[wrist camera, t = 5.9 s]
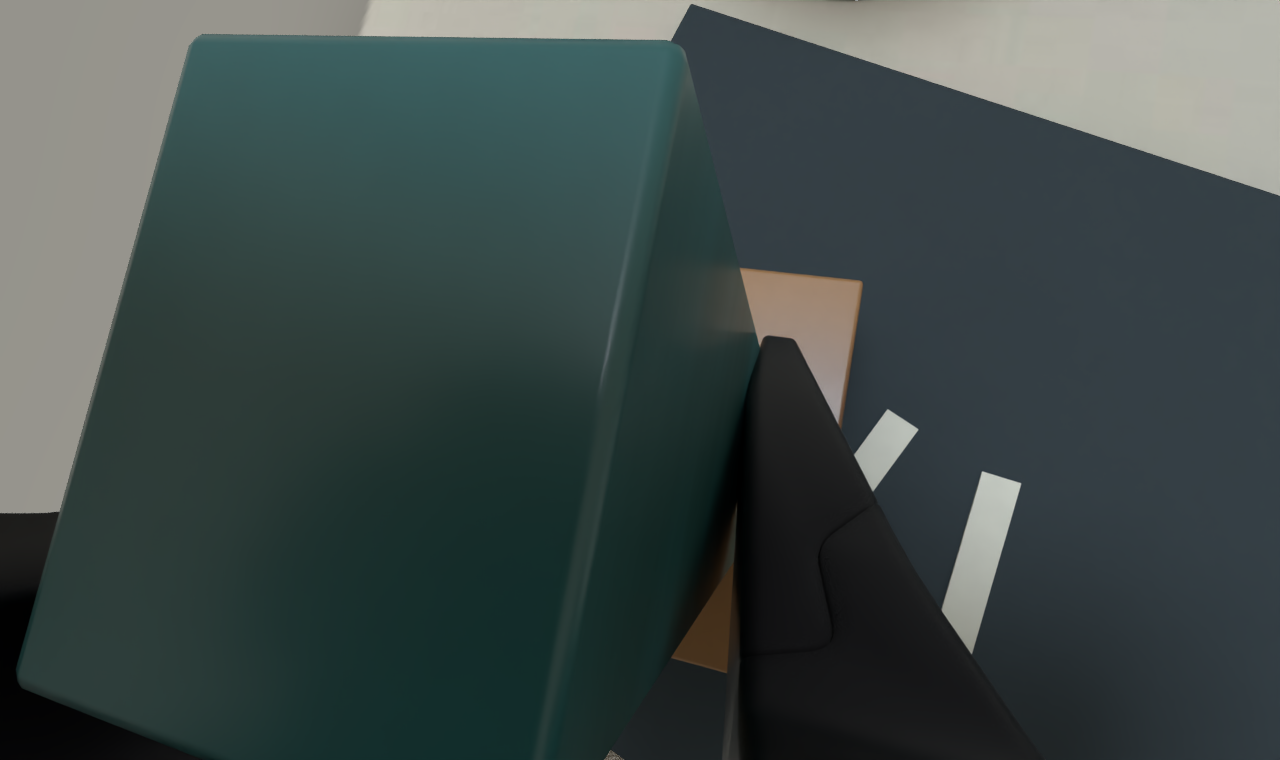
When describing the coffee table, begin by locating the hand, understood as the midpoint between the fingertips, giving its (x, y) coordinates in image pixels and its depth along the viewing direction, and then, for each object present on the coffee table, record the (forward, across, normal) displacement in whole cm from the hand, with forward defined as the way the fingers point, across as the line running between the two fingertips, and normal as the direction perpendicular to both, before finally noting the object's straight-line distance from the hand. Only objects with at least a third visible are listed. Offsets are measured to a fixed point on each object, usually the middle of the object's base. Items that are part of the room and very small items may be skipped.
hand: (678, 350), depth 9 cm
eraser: (+4, 0, +6) cm, 7 cm away
